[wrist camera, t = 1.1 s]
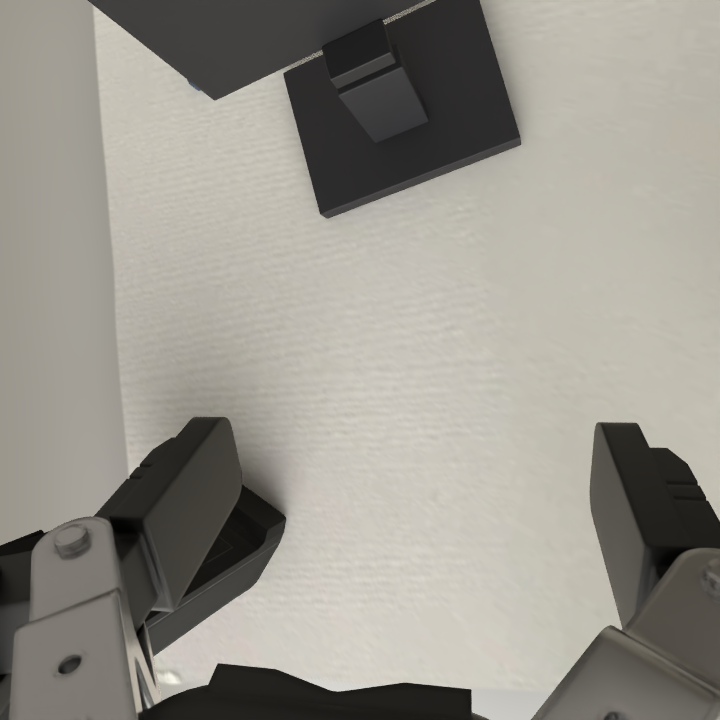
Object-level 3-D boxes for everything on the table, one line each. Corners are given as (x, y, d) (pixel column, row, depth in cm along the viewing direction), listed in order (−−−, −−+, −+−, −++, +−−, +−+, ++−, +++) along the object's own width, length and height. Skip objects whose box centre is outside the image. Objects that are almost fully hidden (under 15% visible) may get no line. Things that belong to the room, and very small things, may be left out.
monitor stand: (521, 145, 35) (513, 83, 27) (326, 219, 38) (272, 183, 31) (476, -6, 36) (456, -107, 28) (290, 81, 39) (228, 13, 32)
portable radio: (169, 525, 42) (-318, 735, 18) (206, 456, 41) (-257, 583, 17) (252, 592, 40) (-178, 926, 16) (293, 520, 39) (-101, 764, 15)
